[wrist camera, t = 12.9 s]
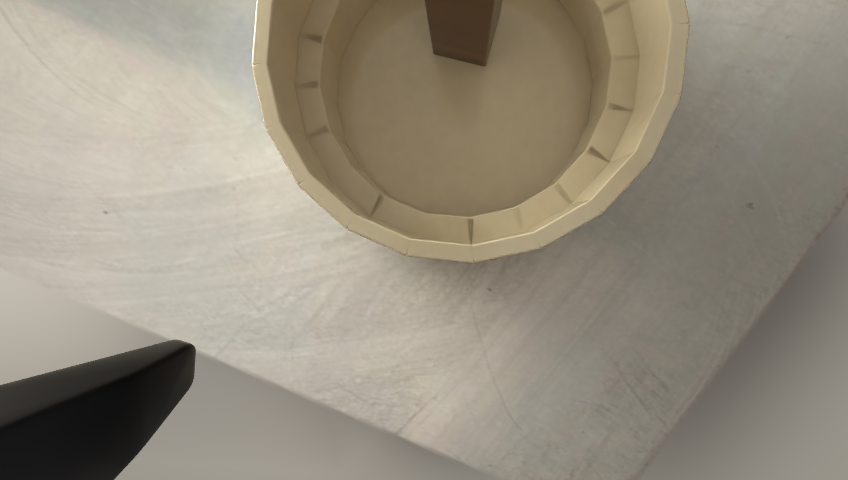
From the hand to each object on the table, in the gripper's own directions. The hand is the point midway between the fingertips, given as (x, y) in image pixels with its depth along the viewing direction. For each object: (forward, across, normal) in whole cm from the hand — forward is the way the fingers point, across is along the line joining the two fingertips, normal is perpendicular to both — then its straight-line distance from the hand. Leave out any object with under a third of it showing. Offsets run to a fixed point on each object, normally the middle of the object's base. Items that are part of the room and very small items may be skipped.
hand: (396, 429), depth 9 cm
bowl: (+14, +2, -6) cm, 15 cm away
